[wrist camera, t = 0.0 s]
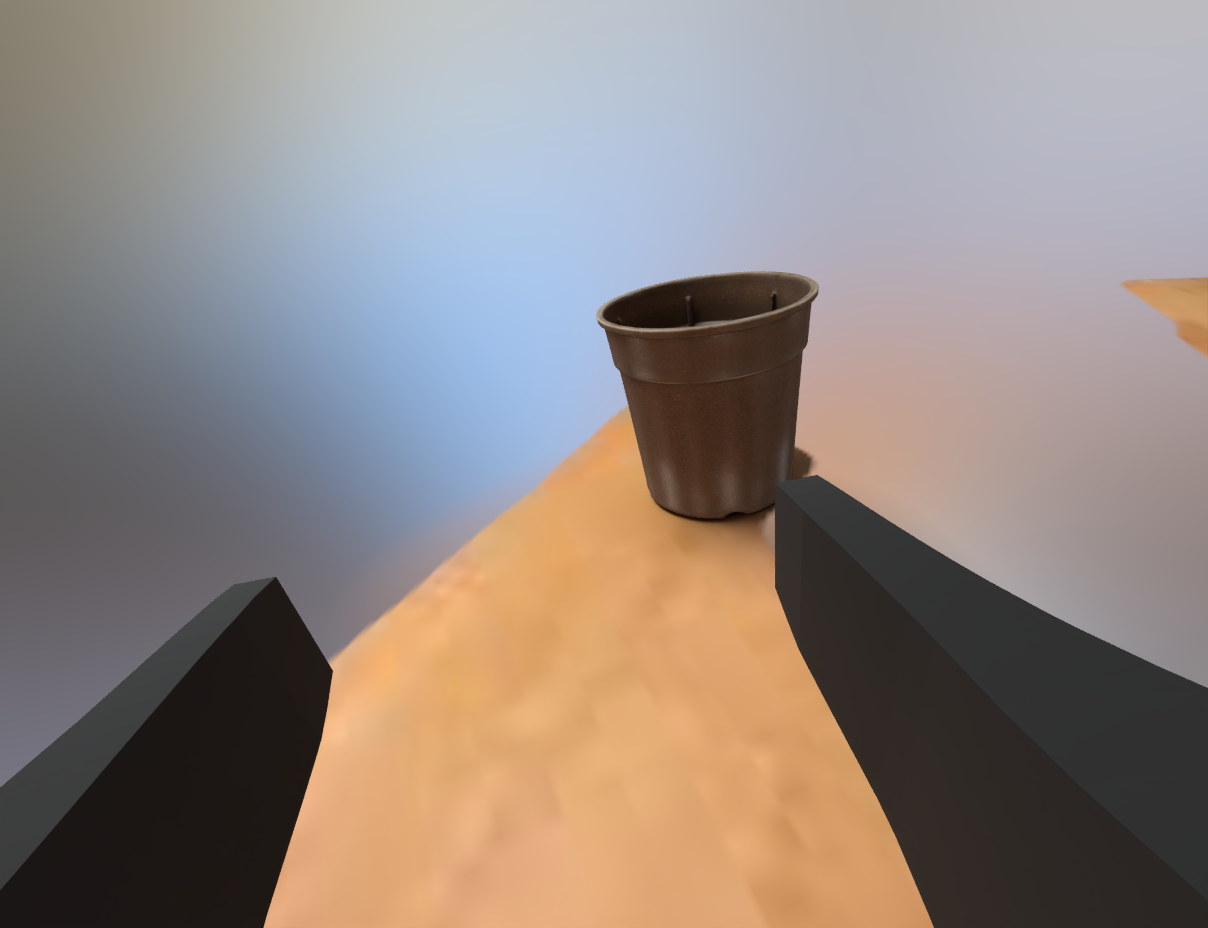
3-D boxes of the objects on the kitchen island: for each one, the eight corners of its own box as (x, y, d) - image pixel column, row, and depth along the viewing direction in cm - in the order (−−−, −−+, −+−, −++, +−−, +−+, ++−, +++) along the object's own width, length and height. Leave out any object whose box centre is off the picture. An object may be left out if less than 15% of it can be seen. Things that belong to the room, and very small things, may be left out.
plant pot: (676, 431, 63) (657, 272, 55) (839, 449, 54) (843, 263, 47) (591, 515, 51) (553, 328, 44) (782, 554, 43) (775, 330, 35)
